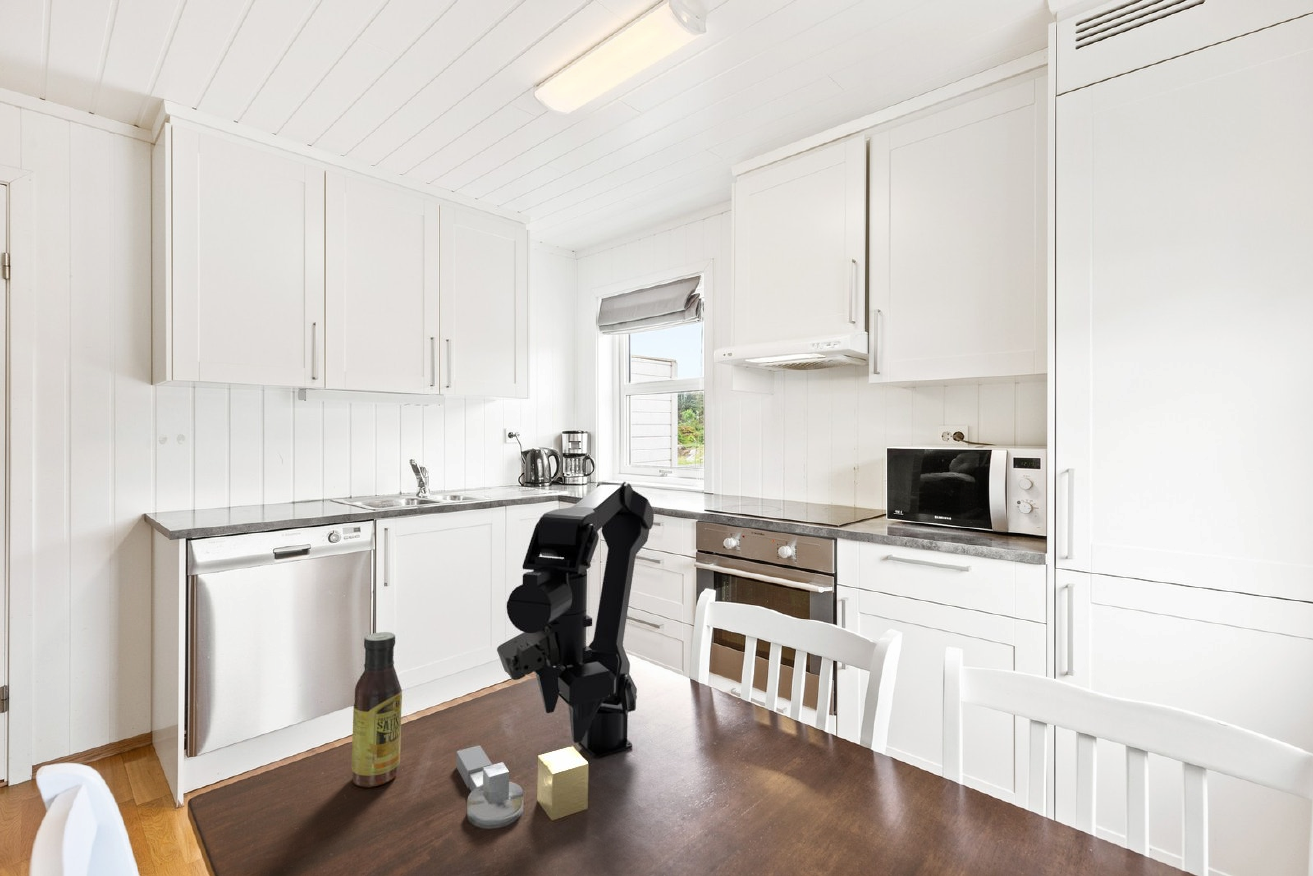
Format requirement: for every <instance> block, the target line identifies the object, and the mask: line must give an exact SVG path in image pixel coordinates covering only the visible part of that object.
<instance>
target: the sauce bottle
mask: <svg viewBox="0 0 1313 876" xmlns="http://www.w3.org/2000/svg"><path fill="white" fill-rule="evenodd" d="M395 645H396V634H394V633H393V632H388V631H383V632H382V631H381V632H374V633H370V634H368V635H365V637H364V639H363V647H364V649H365V650H364V651H365V653H364V655H365V657H364V664H363V666H364V667H363V668H364V670H363V673H362V674H361V675H360V676H359V678H358V680H357V683H356V684H355V689H354V704H353V710H352V711H353V712H352V713H353V715H352V743H351V746H352V747H351V767H350V769H351V772H352V782H353V784H355V785H356V786H358V787H364V788H373V787H377V786H382V785H384V784H386V783H387V784H388V782H390V781H392V780H394V779H395V778H396V776H397V775H398V772H399V768H400V767H399V766H400V764H401V763H400V762H401V744H402V743H401V742H402V741H401V740H402V738H401V737H402V736H401V735H402V733H401V732H402V701H403V700H402V699H403V690H402V687H401V683H400V681H399V678H398V675H397V671H396V668H395V661H394V650H395Z"/></svg>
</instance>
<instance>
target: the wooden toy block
mask: <svg viewBox="0 0 1313 876" xmlns="http://www.w3.org/2000/svg"><path fill="white" fill-rule="evenodd" d="M536 794H537V800H536V801H537V802H538V803H539V805H540V807H541V808H542V809H543V810H544V812H545V813H546V815H547V816H548V817H549V819H550V820H551V821H555V820H558V819H561V818H563V817H566V816H570V815H572V814H576V813H579V812H582V811H584V810H585V811H586V810H588V806H589V805H588V804H589V803H588V802H589V800H588V799H589V762H588V761H587V760H586V759H585V758H584V757H583V756H582V754H581V753H580V752H578V751H577V749H576V748H575V747H574V746H573V745H572V746H568V747H565V748H561V749H557V750H554V751H550V752H547V753H544V754H539V755H537V792H536Z"/></svg>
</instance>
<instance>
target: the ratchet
mask: <svg viewBox="0 0 1313 876" xmlns="http://www.w3.org/2000/svg"><path fill="white" fill-rule="evenodd" d="M455 761H456V763H455V764H456V769H457V771H458V772H459V775H460V776H461V779H462V780H463V782H464V785H466V787H467V789H469V790H470V793H469V794H468V797H467V802H466V803H467V806H466V807H467V810H466V811H467V813H466V814H467V815H466V816H467V820H468V821H469V823H470V824H471V825H473V826H475V827H478V828H480V829H488V830H489V829H490V830H491V829H498V828H503V827H506V826H508V825H511V824H513V823H514V822H515V821H518V820H519V818H520V817H521V815H522V814H523V812H524V790H523V788H522V787H521V786H520V785H519V784H518V783H515V782H512V781H510V771H509V769H508V767H506V765H505V763H504V762H503V761H502V762H498V763H495V764H493V763H492V762H491V760H490V759H489V756H488V755H487V753H485V751H484V749H483V748H482V746H481V745H475V746H472V747H468V748H464V749H460V750H457V751H456V760H455Z"/></svg>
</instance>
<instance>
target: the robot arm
mask: <svg viewBox="0 0 1313 876" xmlns="http://www.w3.org/2000/svg"><path fill="white" fill-rule="evenodd" d="M654 515H655V514H654V510H653V508H652V505H651V503H650V501H649V499H648V498H647V497H646V496H644V495H642V494H640V493H639V492H637V491H636V490H634V489H633V487H632V485H631V484H630V483H629V482H628V483H627V482H626V481H619V480H618V481H617V480H603V481H600V482H597V484H596V487H595V488H594V489H593V490H592V491H590V492H589V493H588V494H586V495H585V496H584V497H583V498H582V499H581V500H579V501H578V502H577V503H575V504H574V505H572V506H570V507H567V508H557V509H553V510H550V511H547V512H544V513H543V514H542V515H541V517H540V518H539V520H538V521H537V522H536V524H535V526H534V528H533V532H532V535H531V538H530V541H529V544H528V547H527V552H526V554H525V557H524V560H523V563H522V569H523V570H528V572H524V573H523V575H522V584H520V585H518V586H516V587H515V588H514V589H513V590H512V591H511V593H510V594H509V596H508V599H507V601H506V613H507V616H508V619H509V620H510V622H511V624H512V625H513V626H514V627H515V628H516V629H517V630H519V631H520V632H522V633H520V634H518V635H517V636H514V637H512V638H510V639H509V640H507V641H505V642H503V643H501V644H500V645H498V646H497V647H496V652H497V655H498V656H499V659H500V662H501V664H502V667H503V670H504V672H505V673H506V674H508V675H509V677H510V678H511V680H512V681H517V680H521V679H523V678H525V677H526V676H527V675H530V674H532V673H533V672H534V673H535V677H536V680H537V683H538V687H539V691H540V695H541V699H542V703H543V707H544V711H545V713H546V714H551V713H553V712H555V709H556V706H557V704H558V700H559V698H561V700H562V701H563V702H565V704H567V705H568V712H569V714H568V715H569V722H570V724H569V725H570V731H571V737H572V742H573V743H575V744H577V743H581V745H583V747H584V748H585V749H586V750H587V751H588V752H589V753H590V754H591V755H592V756H593V757H594V758H597V759H599V758H602V757H605V756H609V755H612V754H615V753H620V752H621V751H625V750H628V749H632V748H633V743H632V742H631V741H630V739H628V726H629V725H628V724H629V723H628V718H629V716H628V715H629V712H630V713H631V712H634V711H636V709H637V698H638V688H637V686H636V684H635V683H634V679H633V678H632V677H631V675H630V669H631V663H630V660H629V658H628V655H627V653H626V651H625V648H624V639H625V638H624V637H625V633H626V631H625V630H626V625H627V624H626V623H627V619H628V611H629V610H628V609H629V605H630V597H631V591H632V590H631V589H632V583H633V578H634V570H635V569H634V568H635V562H636V557H637V554H638V553H639V552H640V551H641V549H643V547H645V544H646V543H647V542H648V539H649V535H650V530H652V528H653V525H654V521H655V519H654V517H655V516H654ZM600 529H601V530H600ZM599 530H600V531H601V534H602V536H603V540H604V542H605V544H606V547H607V555H606V561H605V567H604V573H603V577H602V585H601V591H600V598H599V604H598V609H597V610H598V611H597V616H596V621H595V627H594V633H593V634H594V635H593V639H592V641H591V642H590V644H588V645H587V628H588V627H593V617H591V616H589V615H588V614H587V611H588V610H587V609H588V608H587V606H588V600H587V599H588V596H587V595H588V571H587V570H588V569H590V568H591V565H592V564H591V563H592V559H593V557H594V554H595V551H596V548H597V546H598V542H599V539H600V538H599V537H600V536H599V533H598V532H599Z"/></svg>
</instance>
